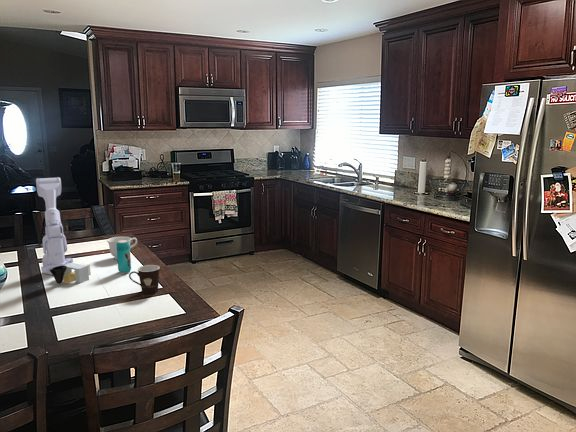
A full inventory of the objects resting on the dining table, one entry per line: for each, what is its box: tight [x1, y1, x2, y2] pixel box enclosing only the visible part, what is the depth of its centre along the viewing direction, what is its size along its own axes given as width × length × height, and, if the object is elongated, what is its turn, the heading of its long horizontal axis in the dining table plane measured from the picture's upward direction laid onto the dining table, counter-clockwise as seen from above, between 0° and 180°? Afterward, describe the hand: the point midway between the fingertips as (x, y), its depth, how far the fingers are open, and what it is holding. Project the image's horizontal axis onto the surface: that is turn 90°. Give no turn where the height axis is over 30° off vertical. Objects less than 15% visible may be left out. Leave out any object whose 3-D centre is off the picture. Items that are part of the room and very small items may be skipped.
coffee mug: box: [128, 264, 160, 295], centre depth 195 cm, size 12×9×10 cm
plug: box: [63, 262, 92, 284], centre depth 210 cm, size 4×12×5 cm, turn 159°
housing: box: [64, 262, 90, 284], centre depth 208 cm, size 12×5×6 cm, turn 67°
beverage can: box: [116, 240, 132, 275], centre depth 217 cm, size 6×6×15 cm
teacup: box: [106, 235, 138, 261], centre depth 240 cm, size 12×15×10 cm
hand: (59, 283), depth 201 cm, fingers closed
